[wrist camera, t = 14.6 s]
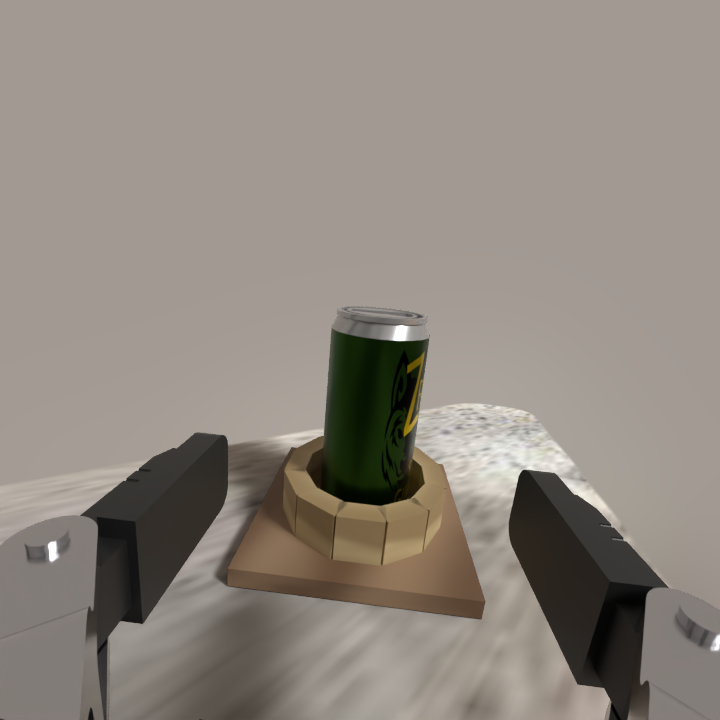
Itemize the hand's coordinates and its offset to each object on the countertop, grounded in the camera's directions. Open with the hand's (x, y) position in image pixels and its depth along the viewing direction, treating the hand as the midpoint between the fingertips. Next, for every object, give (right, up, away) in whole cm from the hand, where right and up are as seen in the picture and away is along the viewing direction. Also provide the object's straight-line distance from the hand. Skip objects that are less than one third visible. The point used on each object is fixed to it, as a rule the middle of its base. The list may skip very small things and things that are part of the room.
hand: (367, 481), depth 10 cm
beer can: (0, -6, +12) cm, 14 cm away
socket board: (0, -7, +13) cm, 14 cm away
